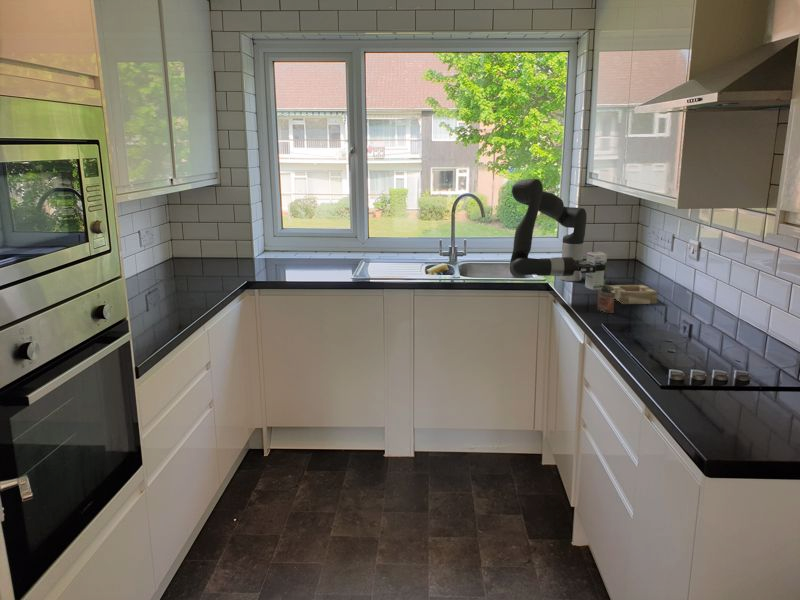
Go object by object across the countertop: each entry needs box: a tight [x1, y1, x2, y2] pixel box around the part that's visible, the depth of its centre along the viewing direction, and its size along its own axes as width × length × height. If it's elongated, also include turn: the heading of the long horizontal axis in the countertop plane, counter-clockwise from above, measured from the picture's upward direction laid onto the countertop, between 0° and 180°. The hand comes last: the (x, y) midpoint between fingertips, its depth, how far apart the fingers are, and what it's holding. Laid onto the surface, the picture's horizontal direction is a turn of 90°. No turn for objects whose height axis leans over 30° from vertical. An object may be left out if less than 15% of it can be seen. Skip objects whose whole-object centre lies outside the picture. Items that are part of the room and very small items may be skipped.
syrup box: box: [584, 251, 608, 291], centre depth 252 cm, size 6×6×14 cm
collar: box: [609, 284, 659, 305], centre depth 252 cm, size 14×14×4 cm
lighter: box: [596, 284, 615, 314], centre depth 235 cm, size 8×3×10 cm, turn 21°
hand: (601, 265), depth 252 cm, fingers closed on syrup box, 6 cm apart
